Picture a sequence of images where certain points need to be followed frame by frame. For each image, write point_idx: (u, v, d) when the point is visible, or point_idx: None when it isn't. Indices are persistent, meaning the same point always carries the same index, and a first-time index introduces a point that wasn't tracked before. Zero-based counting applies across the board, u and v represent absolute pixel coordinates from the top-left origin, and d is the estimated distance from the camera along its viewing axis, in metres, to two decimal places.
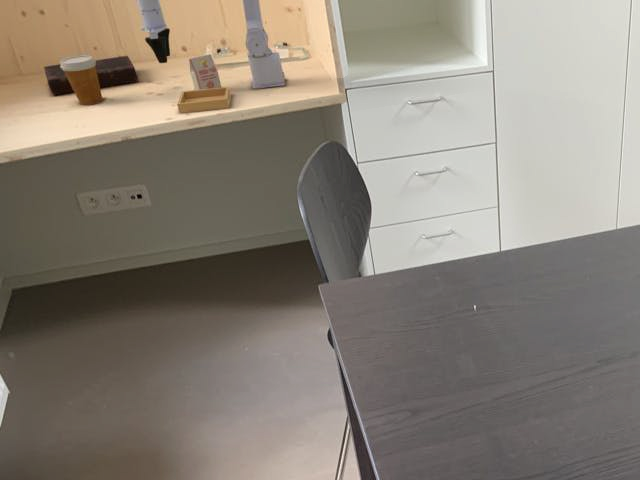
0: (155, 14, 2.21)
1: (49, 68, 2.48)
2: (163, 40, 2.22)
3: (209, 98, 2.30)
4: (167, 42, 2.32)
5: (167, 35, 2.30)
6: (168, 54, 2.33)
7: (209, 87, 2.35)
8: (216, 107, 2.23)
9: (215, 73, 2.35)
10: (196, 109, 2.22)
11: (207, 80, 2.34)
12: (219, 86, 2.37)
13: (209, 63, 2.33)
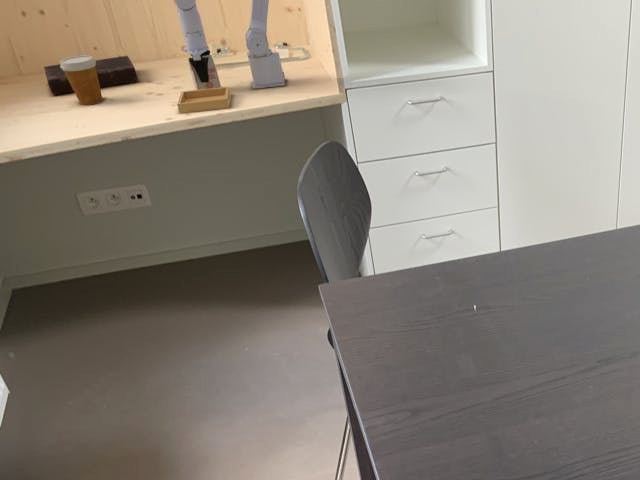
0: (198, 36, 2.26)
1: (49, 68, 2.48)
2: (206, 60, 2.28)
3: (209, 98, 2.30)
4: None
5: None
6: None
7: (208, 87, 2.35)
8: (216, 107, 2.23)
9: (214, 74, 2.34)
10: (196, 109, 2.22)
11: None
12: (218, 87, 2.37)
13: (209, 63, 2.33)
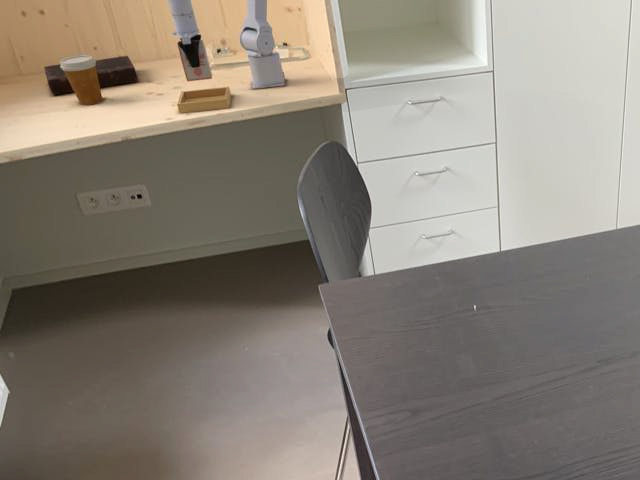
0: (188, 19, 2.13)
1: (49, 68, 2.48)
2: (196, 44, 2.16)
3: (209, 98, 2.30)
4: None
5: None
6: None
7: (196, 74, 2.22)
8: (216, 107, 2.23)
9: (204, 60, 2.21)
10: (196, 109, 2.22)
11: None
12: (208, 74, 2.23)
13: (199, 49, 2.19)
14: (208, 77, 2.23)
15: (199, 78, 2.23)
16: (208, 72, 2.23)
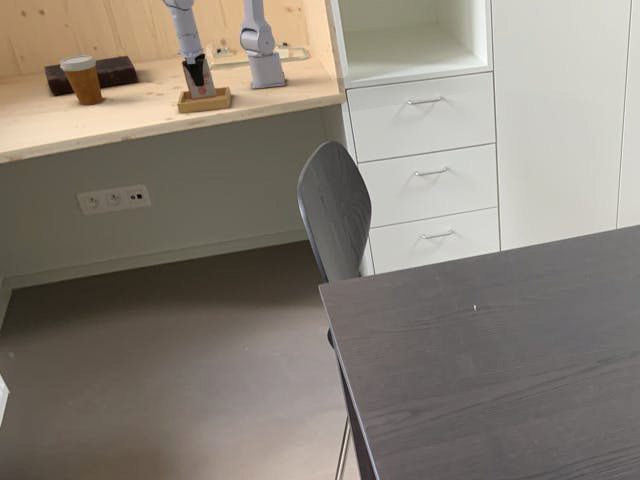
0: (192, 38, 2.15)
1: (49, 68, 2.48)
2: (201, 63, 2.17)
3: (209, 98, 2.30)
4: None
5: None
6: None
7: (201, 93, 2.24)
8: (216, 107, 2.23)
9: (208, 79, 2.22)
10: (196, 109, 2.22)
11: None
12: (212, 93, 2.25)
13: (203, 68, 2.21)
14: (212, 96, 2.25)
15: (203, 97, 2.24)
16: (212, 91, 2.24)
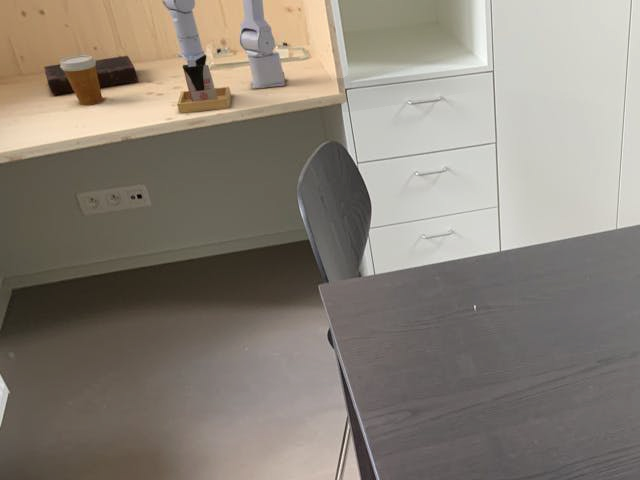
0: (193, 41, 2.15)
1: (49, 68, 2.48)
2: (201, 68, 2.16)
3: None
4: None
5: (204, 62, 2.24)
6: None
7: (202, 98, 2.25)
8: (216, 107, 2.23)
9: (209, 85, 2.23)
10: (196, 109, 2.22)
11: (200, 91, 2.23)
12: (214, 98, 2.25)
13: (204, 74, 2.22)
14: None
15: None
16: (214, 96, 2.25)
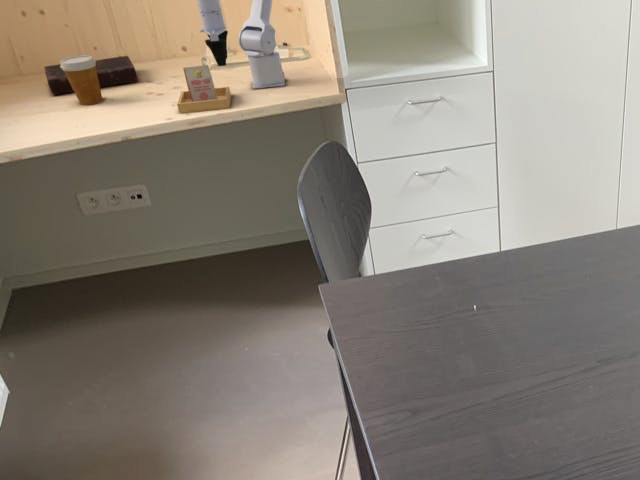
0: (216, 16, 2.16)
1: (49, 68, 2.48)
2: (223, 42, 2.17)
3: None
4: (225, 44, 2.26)
5: (225, 37, 2.25)
6: (225, 57, 2.27)
7: (202, 98, 2.25)
8: (216, 107, 2.23)
9: (209, 85, 2.23)
10: (196, 109, 2.22)
11: (200, 91, 2.23)
12: (214, 98, 2.25)
13: (204, 74, 2.22)
14: None
15: None
16: (214, 96, 2.25)
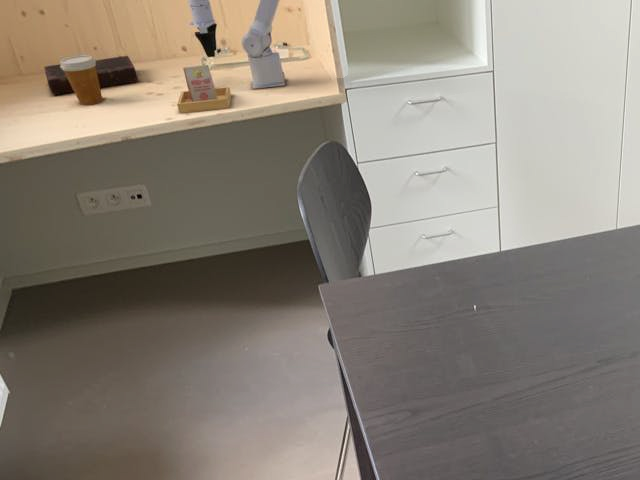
0: (205, 9, 2.27)
1: (49, 68, 2.48)
2: (212, 34, 2.28)
3: None
4: (214, 37, 2.37)
5: (214, 30, 2.36)
6: (215, 48, 2.39)
7: (202, 98, 2.25)
8: (216, 107, 2.23)
9: (209, 85, 2.23)
10: (196, 109, 2.22)
11: (200, 91, 2.23)
12: (214, 98, 2.25)
13: (204, 74, 2.22)
14: None
15: None
16: (214, 96, 2.25)
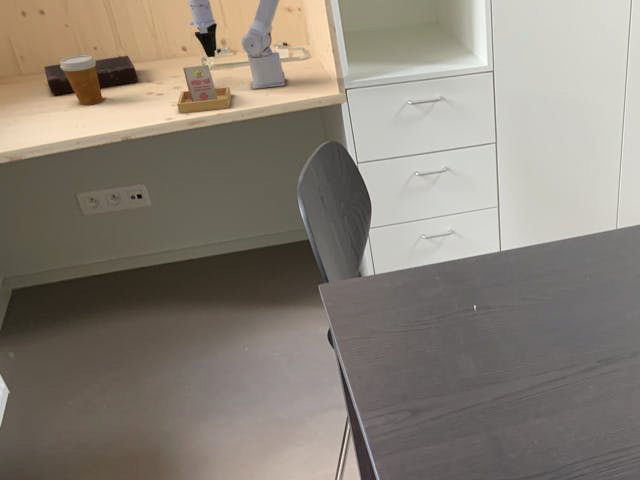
0: (205, 9, 2.27)
1: (49, 68, 2.48)
2: (212, 34, 2.28)
3: None
4: (214, 37, 2.37)
5: (214, 30, 2.36)
6: (215, 48, 2.39)
7: (202, 98, 2.25)
8: (216, 107, 2.23)
9: (209, 85, 2.23)
10: (196, 109, 2.22)
11: (200, 91, 2.23)
12: (214, 98, 2.25)
13: (204, 74, 2.22)
14: None
15: None
16: (214, 96, 2.25)
